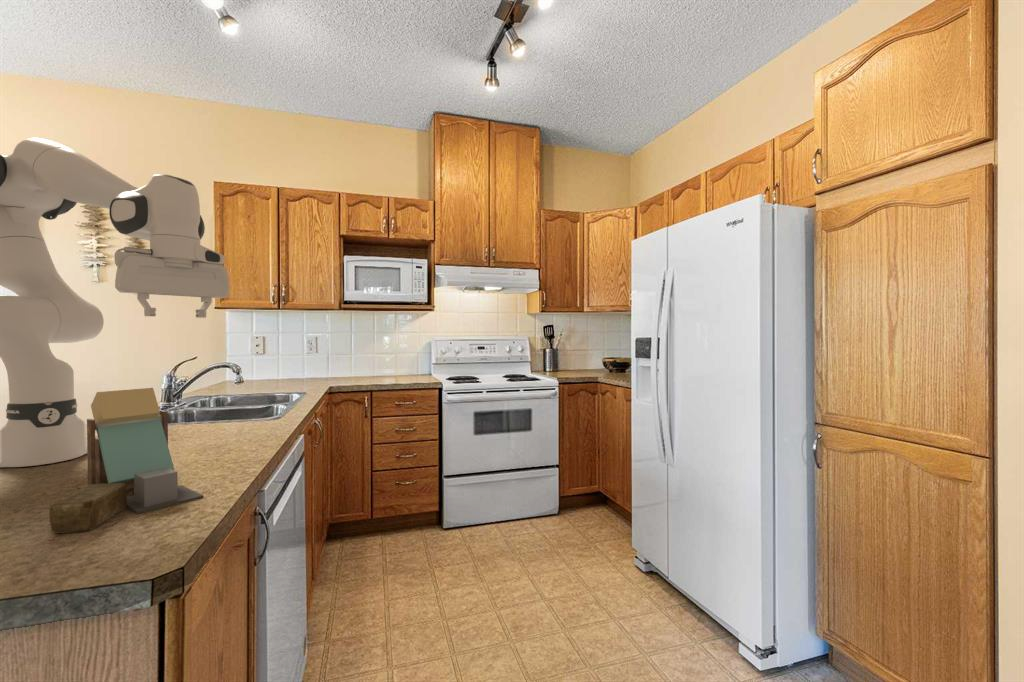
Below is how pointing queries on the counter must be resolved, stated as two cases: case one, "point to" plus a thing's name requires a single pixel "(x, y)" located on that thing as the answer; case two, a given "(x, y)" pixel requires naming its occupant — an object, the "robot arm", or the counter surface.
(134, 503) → the rubber mat
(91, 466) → the trapdoor frame
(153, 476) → the stone cube
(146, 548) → the counter surface
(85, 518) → the stone block
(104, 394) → the trapdoor
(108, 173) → the robot arm
